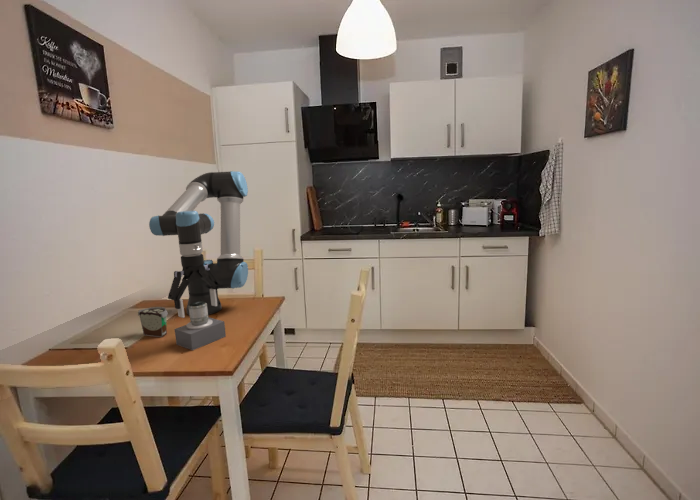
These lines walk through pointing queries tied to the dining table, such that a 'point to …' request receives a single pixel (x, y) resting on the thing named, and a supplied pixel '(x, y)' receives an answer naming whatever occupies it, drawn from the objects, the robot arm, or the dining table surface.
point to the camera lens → (198, 313)
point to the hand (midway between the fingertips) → (198, 311)
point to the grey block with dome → (200, 334)
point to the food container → (153, 321)
